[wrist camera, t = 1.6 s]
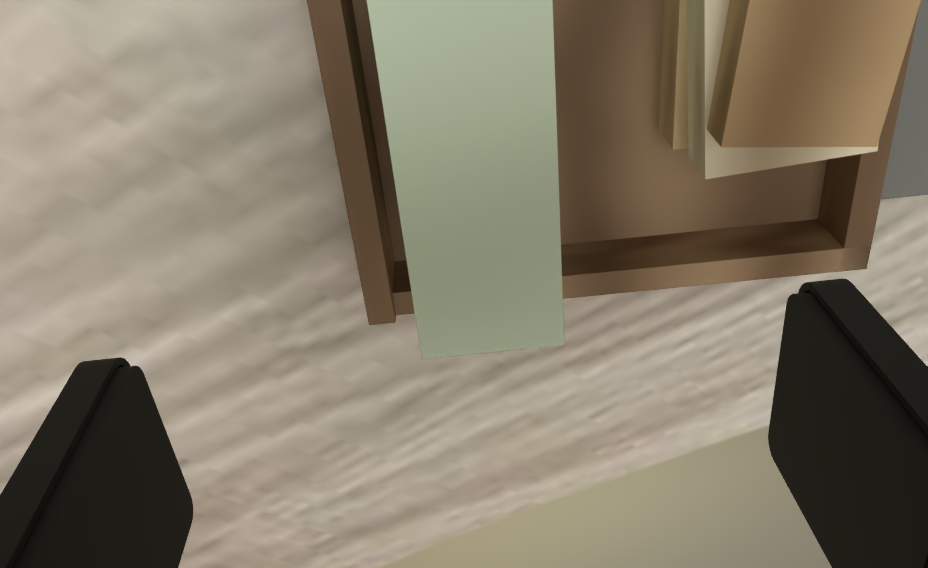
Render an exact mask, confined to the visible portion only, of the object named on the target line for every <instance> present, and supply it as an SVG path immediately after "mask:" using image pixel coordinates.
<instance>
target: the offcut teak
mask: <svg viewBox="0 0 928 568" xmlns="http://www.w3.org/2000/svg"><path fill="white" fill-rule="evenodd" d="M920 2H921V0H730V2H729V8H728V14H727V19H726V25H725V30H724V36H723V41H722V47H721V52H720V58H719V64H718V69H717V75H716V80H715V86H714V91H713V97H712V102H711V108H710V114H709V119H708V125H707V130H708V132H709V133H710V134H711V135H712V137H713V138H714V139H715V140H716V142H717V143H718V144H719V145H720V147H877V145H878V141H879V138H880V135H881V131H882V128H883V125H884V121H885V118H886V115H887V111H888V108H889V105H890V101H891V98H892V95H893V92H894V88H895V85H896V82H897V78H898V75H899V72H900V68H901V65H902V62H903V58H904V55H905V52H906V48H907V45H908V42H909V38H910V35H911V32H912V29H913V25H914V22H915V19H916V15H917V12H918V9H919V5H920Z"/></svg>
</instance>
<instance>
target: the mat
mask: <svg viewBox="0 0 928 568" xmlns="http://www.w3.org/2000/svg"><path fill="white" fill-rule="evenodd" d="M919 195H928V0H921V2H920V6H919V11H918V16H917V21H916V26H915V31H914V36H913V41H912V46H911V51H910V56H909V61H908V66H907V71H906V76H905V81H904V85H903V90H902V95H901V100H900V105H899V110H898V115H897V120H896V125H895V130H894V135H893V140H892V145H891V150H890V155H889V160H888V165H887V170H886V174H885V179H884V184H883V189H882V194H881V199H889V198H899V197H909V196H919Z"/></svg>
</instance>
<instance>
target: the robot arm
mask: <svg viewBox="0 0 928 568" xmlns="http://www.w3.org/2000/svg"><path fill="white" fill-rule="evenodd" d="M768 440H769V447H770V451H771V455H772V457H773V460H774V462H775V463H776V465H777V467H778V469H779V471H780V473H781V474H782V476H783V478H784V480H785V482H786V484H787V486H788V487H789V489H790V491H791V493H792V495H793V497H794V498H795V500H796V502H797V504H798V506H799V508H800V509H801V511H802V513H803V515H804V517H805V519H806V520H807V522H808V524H809V526H810V528H811V530H812V532H813V533H814V535H815V537H816V539H817V541H818V543H819V544H820V546H821V548H822V550H823V552H824V554H825V555H826V557H827V559H828V561H829V563H830V565H831V566H832V568H928V366H926V365H925V364H924V363H923V361H922V360H921V359H920V358H919V357H918V356H917V355H916V354H915V353H914V351H913V350H912V349H911V348H910V347H909V346H908V345H907V344H906V343H905V341H904V340H903V339H902V338H901V337H900V336H899V335H898V334H897V333H896V331H895V330H894V329H893V328H892V327H891V326H890V325H889V324H888V323H887V321H886V320H885V319H884V318H883V317H882V316H881V315H880V314H879V313H878V312H877V310H876V309H875V308H874V307H873V306H872V305H871V304H870V303H869V302H868V300H867V299H866V298H865V297H864V296H863V295H862V294H861V293H860V292H859V290H858V289H857V288H856V287H855V286H854V285H853V284H852V283H851V282H850V281H849V280H847V279H834V280H825V281H816V282H807V283H804V284H803V285H802V286H801V287H800V289H799V293H798V294H792V295H790V296H789V298H788V301H787V305H786V312H785V319H784V327H783V334H782V341H781V348H780V355H779V362H778V369H777V376H776V383H775V390H774V398H773V405H772V412H771V419H770V426H769V434H768ZM192 519H193V503H192V498H191V495H190V492H189V490H188V487H187V485H186V482H185V479H184V477H183V474H182V472H181V469H180V466H179V464H178V461H177V459H176V456H175V453H174V451H173V448H172V446H171V443H170V440H169V438H168V435H167V433H166V430H165V428H164V425H163V422H162V420H161V417H160V415H159V412H158V409H157V407H156V404H155V402H154V399H153V396H152V394H151V391H150V389H149V386H148V383H147V381H146V378H145V376H144V373H143V371H142V370H141V369H140V367H138V366H130V365H129V363H128V362H127V361H126V360H125V359H124V358H111V359H102V360H93V361H84V362H81V363H79V364H78V365H77V367H76V368H75V369H74V371H73V373H72V375H71V376H70V378H69V380H68V381H67V383H66V385H65V386H64V388H63V390H62V392H61V393H60V395H59V397H58V398H57V400H56V402H55V403H54V405H53V407H52V408H51V410H50V412H49V414H48V415H47V417H46V419H45V420H44V422H43V424H42V425H41V427H40V429H39V430H38V432H37V434H36V436H35V437H34V439H33V441H32V442H31V444H30V446H29V447H28V449H27V451H26V453H25V454H24V456H23V458H22V459H21V461H20V463H19V464H18V466H17V468H16V469H15V471H14V473H13V475H12V476H11V478H10V480H9V481H8V483H7V485H6V486H5V488H4V490H3V492H2V493H1V495H0V568H178V566H179V563H180V560H181V556H182V553H183V550H184V547H185V543H186V540H187V537H188V533H189V530H190V527H191V523H192Z"/></svg>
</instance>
